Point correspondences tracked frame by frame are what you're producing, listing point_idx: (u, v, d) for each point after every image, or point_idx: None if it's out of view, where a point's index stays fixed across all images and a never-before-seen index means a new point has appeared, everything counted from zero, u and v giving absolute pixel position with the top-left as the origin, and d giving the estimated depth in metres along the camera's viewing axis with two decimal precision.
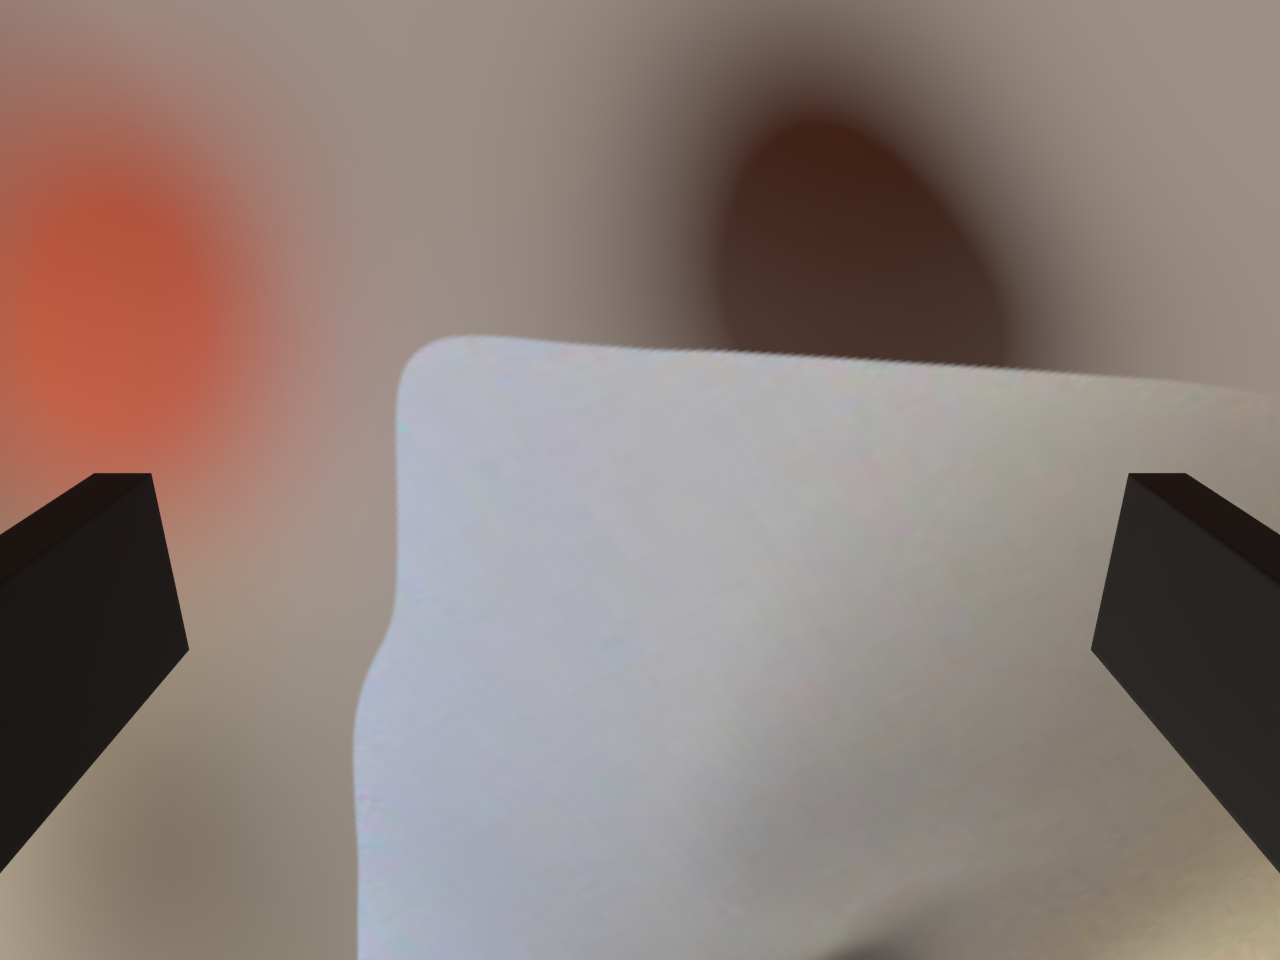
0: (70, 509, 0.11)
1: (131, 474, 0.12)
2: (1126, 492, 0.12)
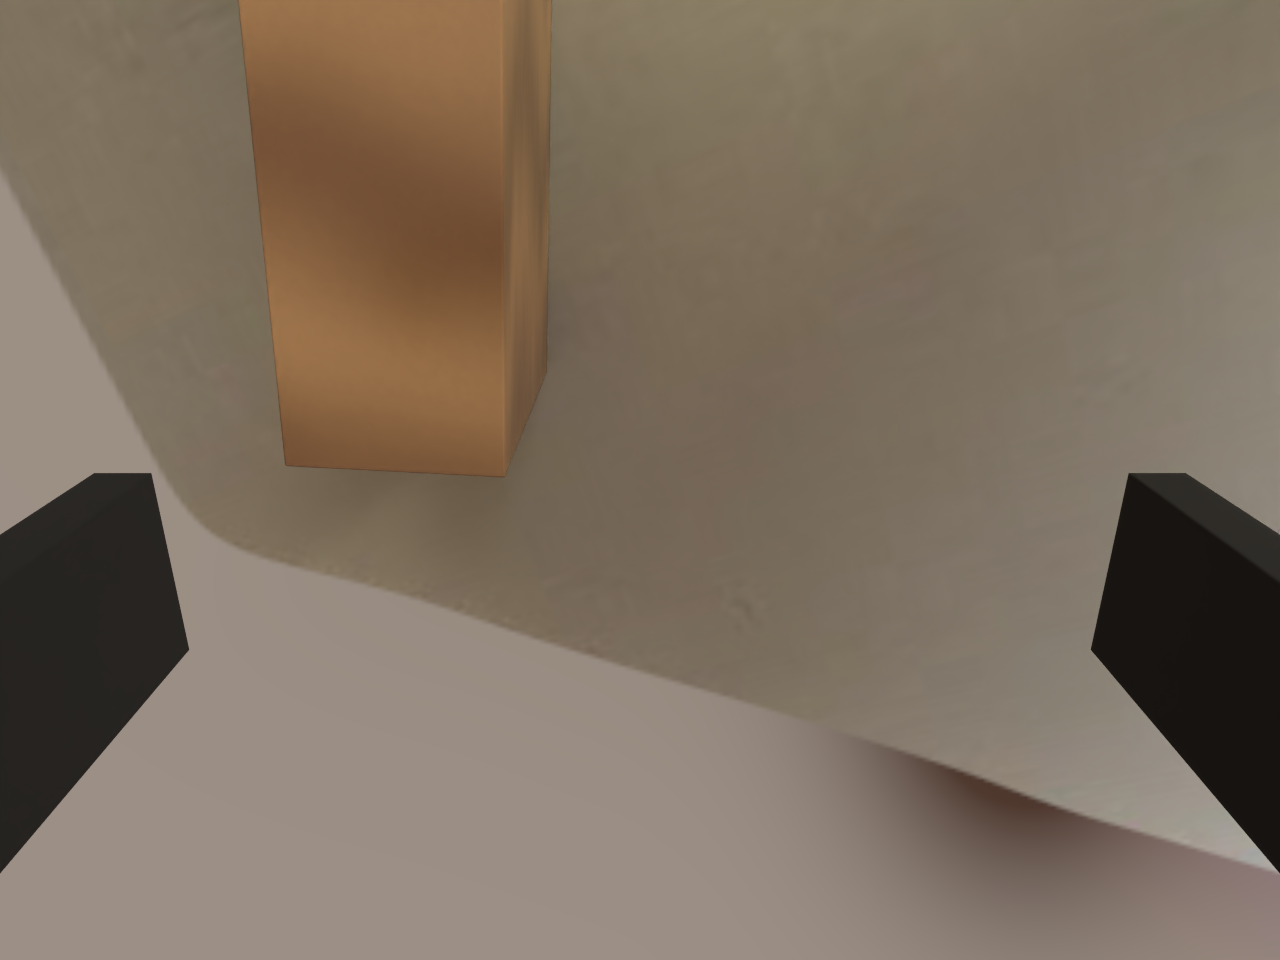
0: (70, 509, 0.11)
1: (131, 474, 0.12)
2: (1126, 492, 0.12)
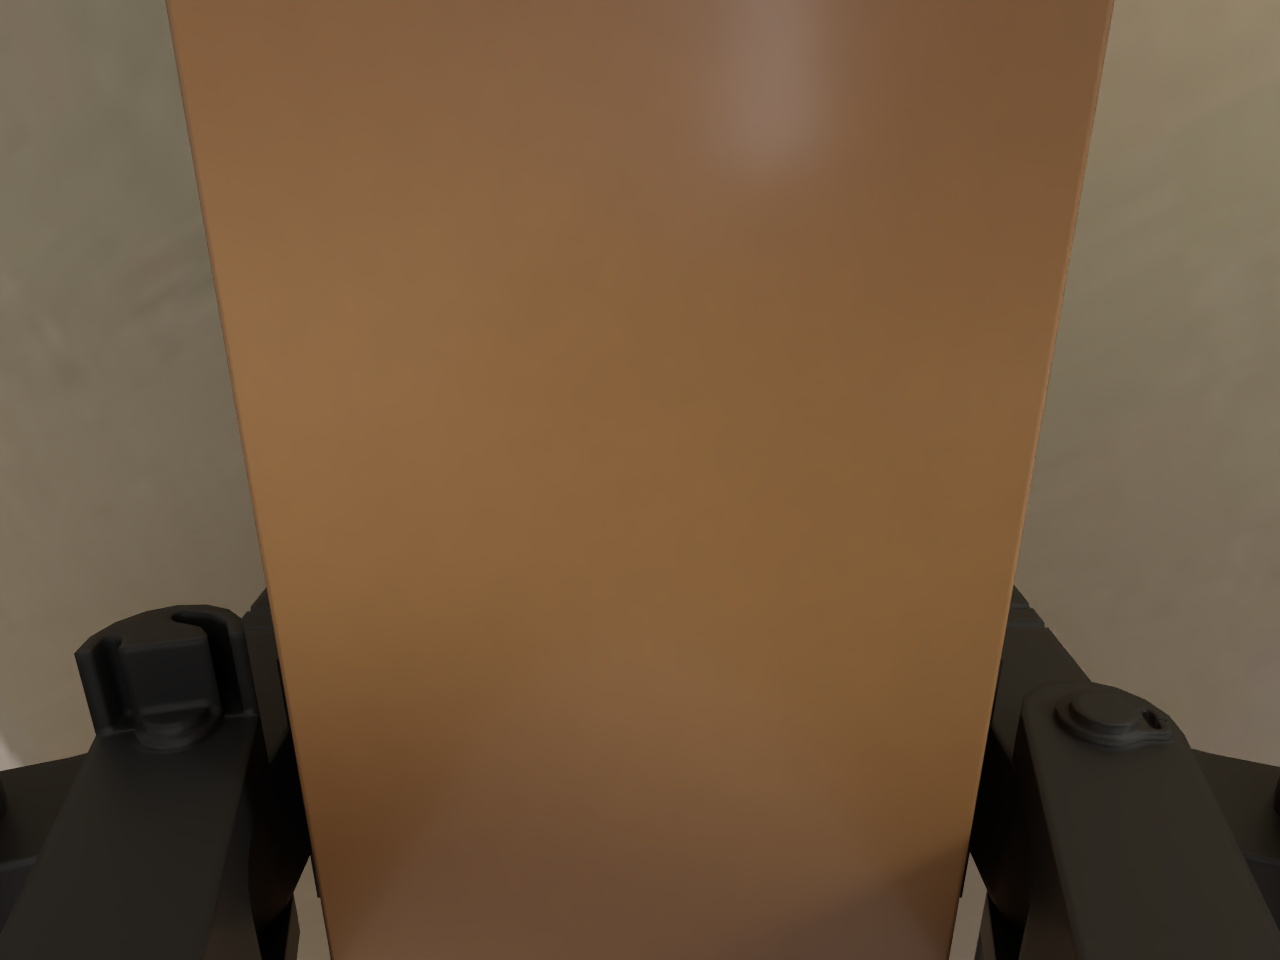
0: None
1: None
2: None
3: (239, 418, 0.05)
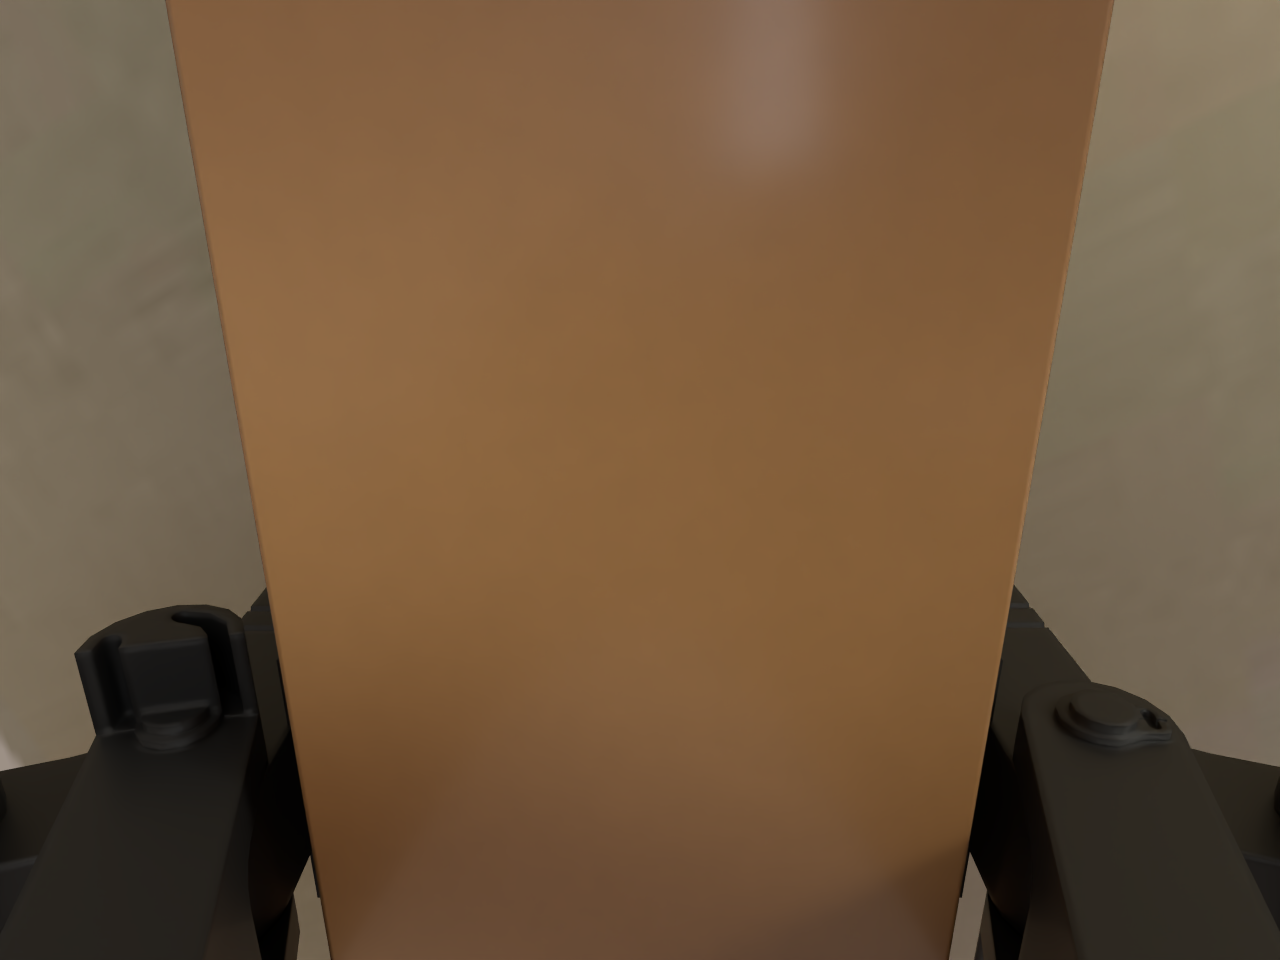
0: None
1: None
2: None
3: (239, 418, 0.05)
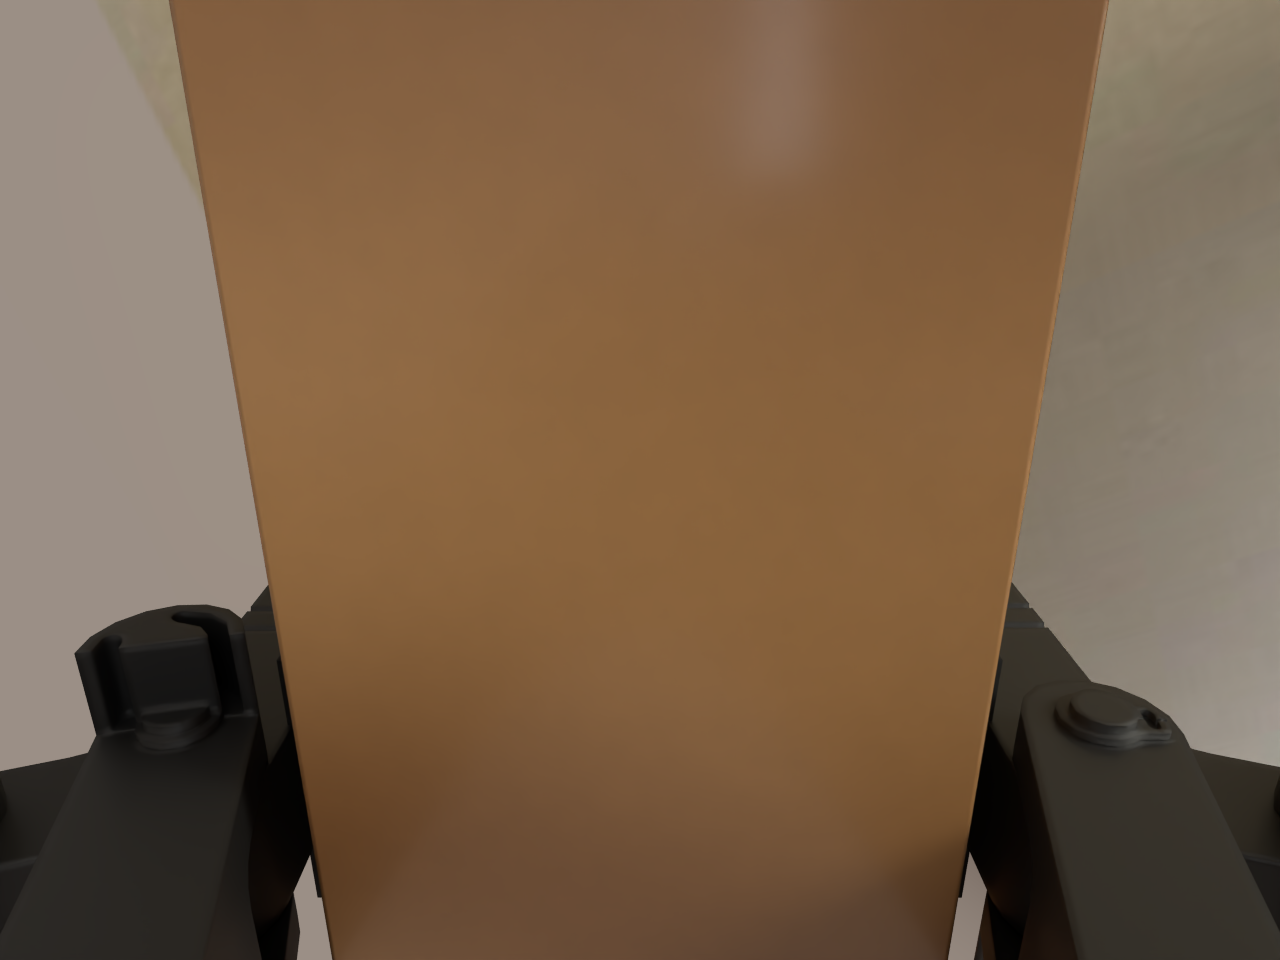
0: None
1: None
2: None
3: (240, 411, 0.05)
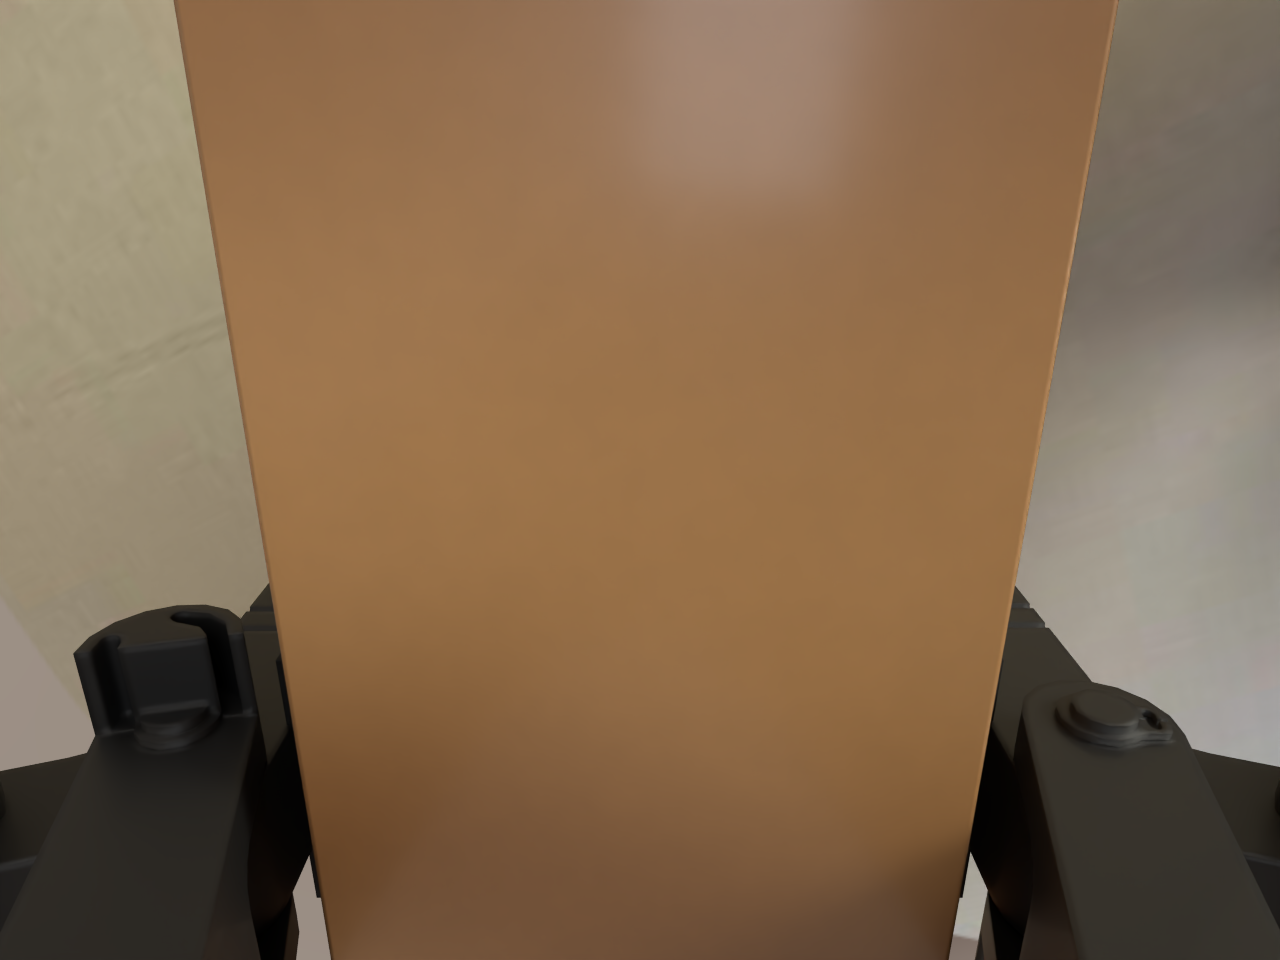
0: None
1: None
2: None
3: (242, 410, 0.05)
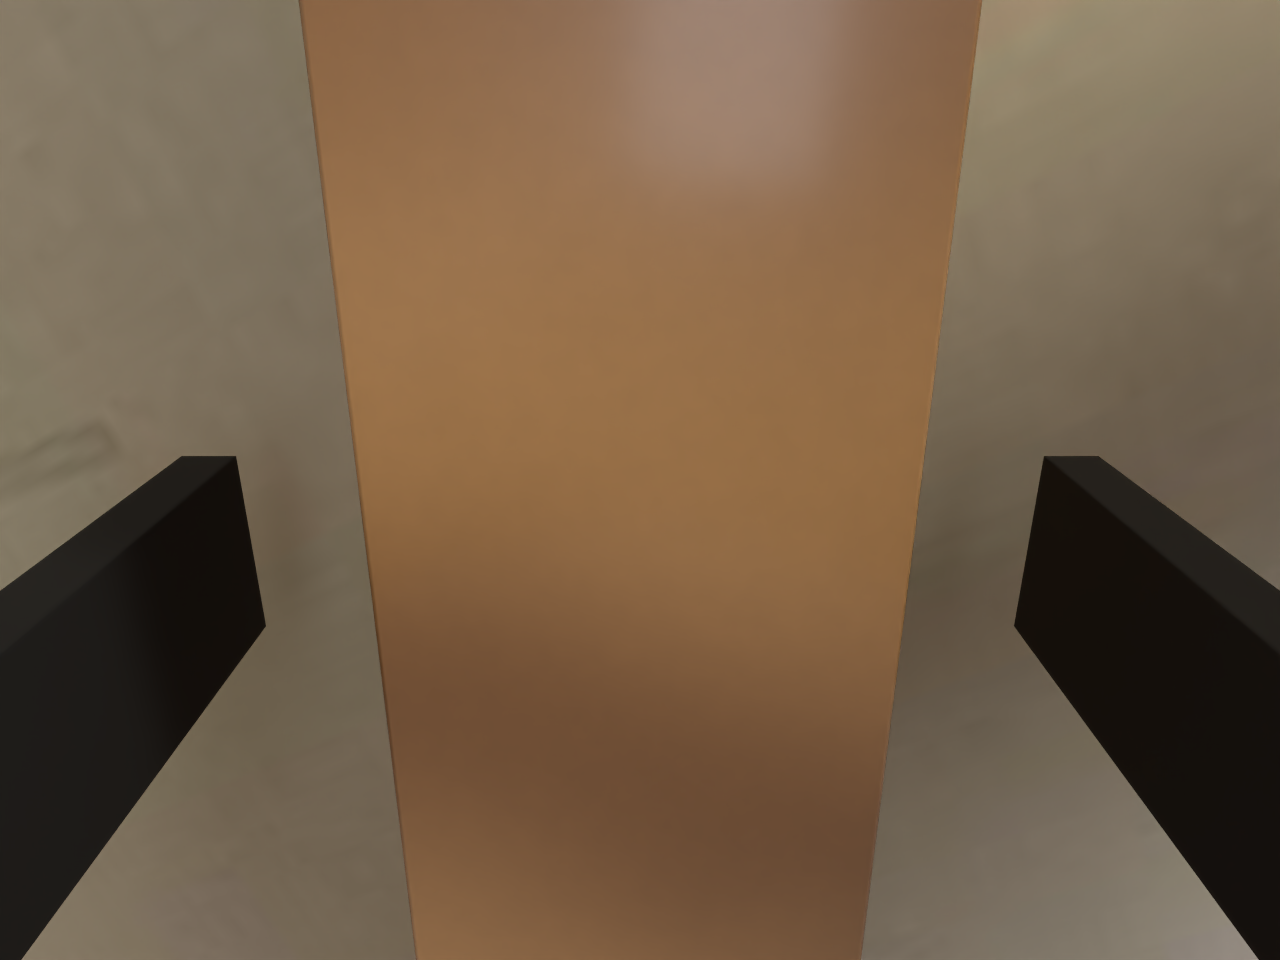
0: (167, 488, 0.11)
1: (217, 457, 0.12)
2: (1042, 474, 0.13)
3: (341, 342, 0.07)
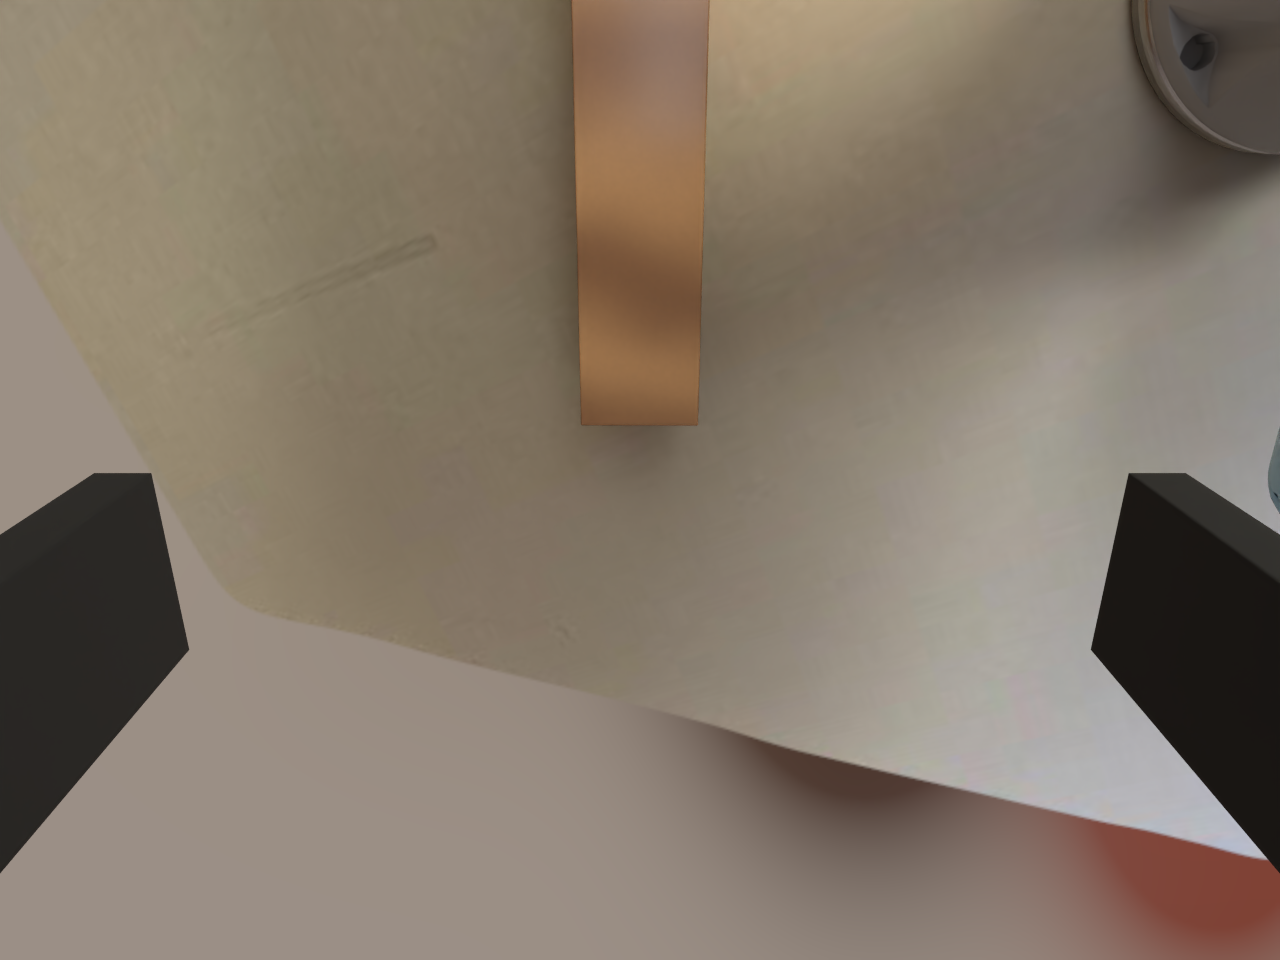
0: (70, 509, 0.11)
1: (131, 474, 0.12)
2: (1126, 492, 0.12)
3: (575, 165, 0.33)
